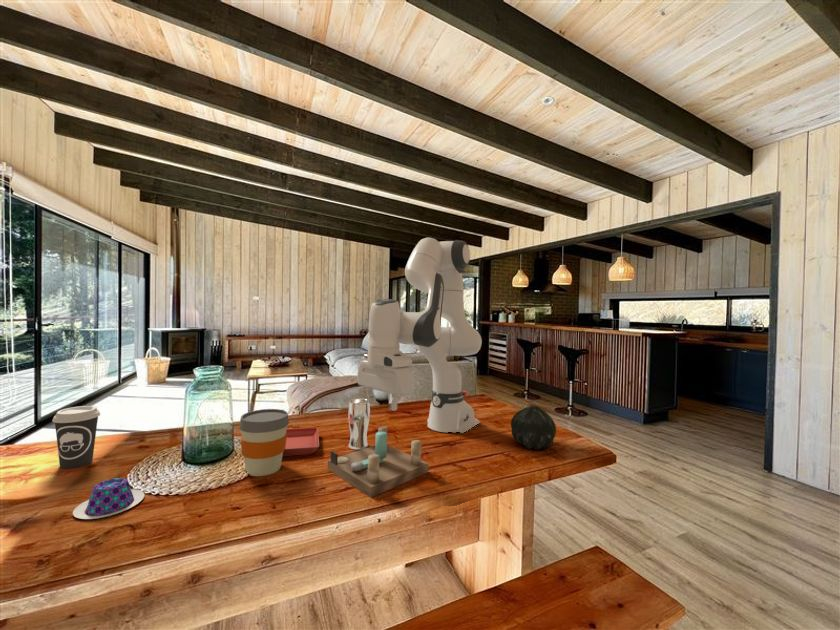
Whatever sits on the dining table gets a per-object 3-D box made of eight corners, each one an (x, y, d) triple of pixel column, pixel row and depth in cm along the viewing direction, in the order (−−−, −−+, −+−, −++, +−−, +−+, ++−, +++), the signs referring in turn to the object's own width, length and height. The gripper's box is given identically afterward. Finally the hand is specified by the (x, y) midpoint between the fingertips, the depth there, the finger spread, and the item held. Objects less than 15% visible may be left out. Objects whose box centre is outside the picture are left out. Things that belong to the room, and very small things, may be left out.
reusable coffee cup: (256, 484, 90) (257, 425, 89) (228, 470, 96) (229, 416, 96) (297, 466, 100) (298, 413, 100) (269, 455, 107) (270, 406, 107)
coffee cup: (107, 459, 101) (108, 407, 100) (65, 474, 92) (65, 416, 91) (86, 454, 104) (87, 403, 104) (43, 467, 95) (43, 412, 95)
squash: (534, 419, 133) (518, 392, 127) (570, 433, 121) (554, 404, 115) (513, 449, 128) (495, 423, 122) (548, 466, 116) (530, 438, 110)
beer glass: (364, 451, 112) (365, 404, 112) (344, 449, 113) (345, 402, 113) (371, 443, 119) (373, 399, 119) (352, 441, 120) (353, 397, 120)
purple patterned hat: (115, 523, 73) (115, 498, 73) (55, 522, 73) (56, 497, 72) (157, 492, 85) (157, 471, 85) (106, 491, 85) (106, 470, 84)
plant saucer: (317, 435, 125) (318, 426, 125) (319, 456, 108) (319, 445, 108) (262, 439, 120) (262, 430, 120) (254, 462, 103) (254, 451, 103)
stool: (383, 450, 113) (383, 424, 113) (428, 472, 99) (429, 442, 99) (327, 469, 99) (328, 439, 99) (370, 497, 85) (371, 462, 85)
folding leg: (355, 472, 91) (356, 443, 91) (348, 468, 94) (349, 440, 93) (388, 460, 99) (389, 433, 99) (381, 456, 101) (382, 430, 101)
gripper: (352, 353, 104) (351, 400, 104) (398, 362, 89) (397, 416, 89) (370, 352, 108) (368, 397, 108) (416, 360, 94) (415, 412, 94)
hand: (381, 406), depth 99 cm, fingers open, 8 cm apart
